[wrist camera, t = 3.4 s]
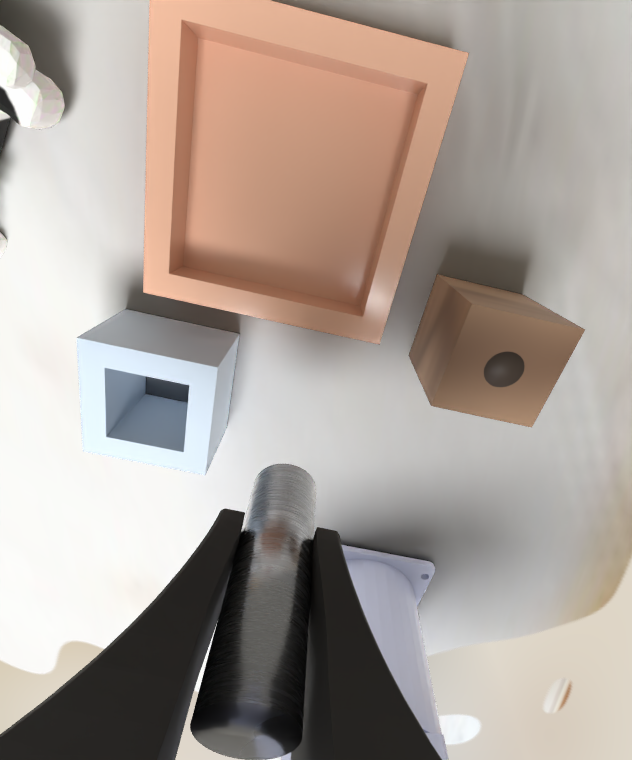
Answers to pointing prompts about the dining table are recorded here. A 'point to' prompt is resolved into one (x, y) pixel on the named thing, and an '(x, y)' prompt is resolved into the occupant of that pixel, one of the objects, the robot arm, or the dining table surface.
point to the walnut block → (490, 351)
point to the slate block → (147, 412)
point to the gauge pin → (262, 626)
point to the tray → (287, 160)
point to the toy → (24, 93)
